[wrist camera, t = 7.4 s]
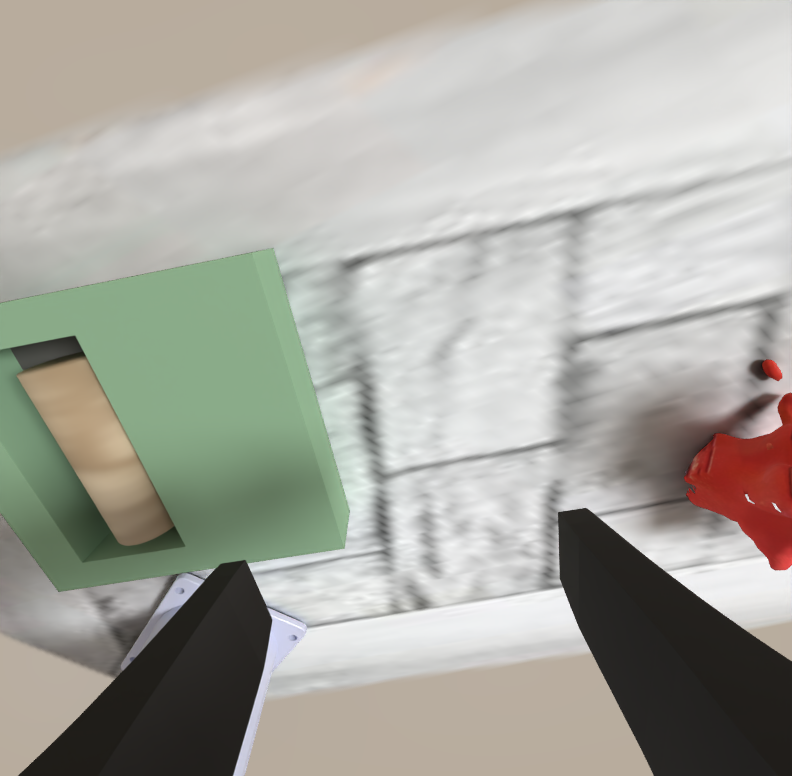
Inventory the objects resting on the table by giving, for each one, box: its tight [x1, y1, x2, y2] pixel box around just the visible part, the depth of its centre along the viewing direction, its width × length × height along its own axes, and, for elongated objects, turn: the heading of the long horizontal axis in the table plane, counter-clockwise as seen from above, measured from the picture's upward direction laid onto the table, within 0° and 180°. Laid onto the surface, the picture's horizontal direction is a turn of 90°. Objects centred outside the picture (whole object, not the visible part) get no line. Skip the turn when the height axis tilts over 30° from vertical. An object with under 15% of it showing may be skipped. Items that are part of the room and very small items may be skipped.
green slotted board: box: [0, 248, 350, 592], centre depth 17 cm, size 14×13×2 cm
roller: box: [16, 351, 175, 546], centre depth 17 cm, size 8×3×3 cm
